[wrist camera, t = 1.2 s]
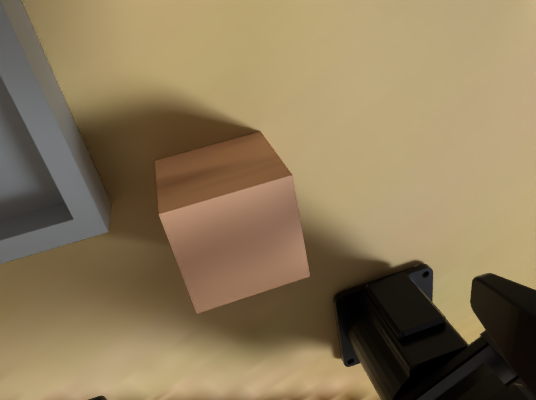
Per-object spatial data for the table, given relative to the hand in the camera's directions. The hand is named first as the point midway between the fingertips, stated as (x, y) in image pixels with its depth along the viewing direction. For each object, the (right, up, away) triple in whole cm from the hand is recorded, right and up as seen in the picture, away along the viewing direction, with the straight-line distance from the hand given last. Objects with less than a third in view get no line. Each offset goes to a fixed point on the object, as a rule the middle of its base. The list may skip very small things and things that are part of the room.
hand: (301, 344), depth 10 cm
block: (-3, +4, +11) cm, 12 cm away
